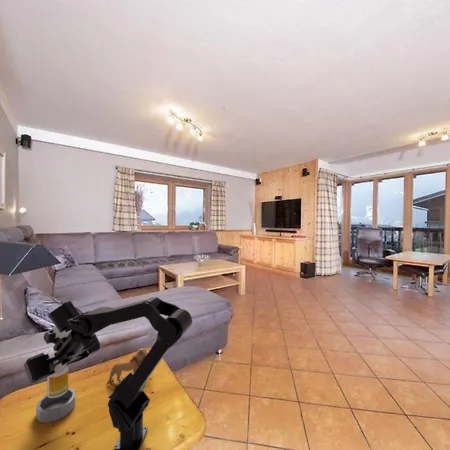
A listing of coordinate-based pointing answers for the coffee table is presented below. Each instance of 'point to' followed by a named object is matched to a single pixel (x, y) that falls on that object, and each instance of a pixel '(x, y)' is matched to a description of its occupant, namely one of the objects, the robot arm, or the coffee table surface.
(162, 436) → the coffee table surface
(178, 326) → the robot arm
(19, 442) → the coffee table surface
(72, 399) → the grey faceted bowl
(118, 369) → the lion figurine
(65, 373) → the supplement bottle
